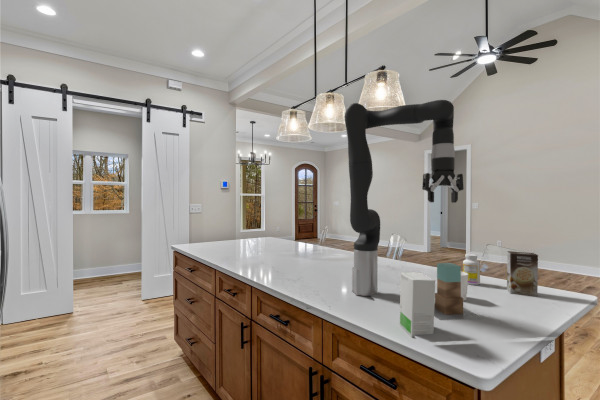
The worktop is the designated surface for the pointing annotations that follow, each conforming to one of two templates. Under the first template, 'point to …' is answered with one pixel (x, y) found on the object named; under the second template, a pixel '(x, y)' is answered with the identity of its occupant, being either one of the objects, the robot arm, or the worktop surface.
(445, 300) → the tower bottom
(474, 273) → the supplement bottle
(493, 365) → the worktop surface
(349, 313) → the worktop surface
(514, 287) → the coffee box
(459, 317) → the pale flat pad
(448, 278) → the teal cube
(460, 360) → the worktop surface
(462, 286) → the white cup
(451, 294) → the block
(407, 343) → the worktop surface
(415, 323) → the skincare box
